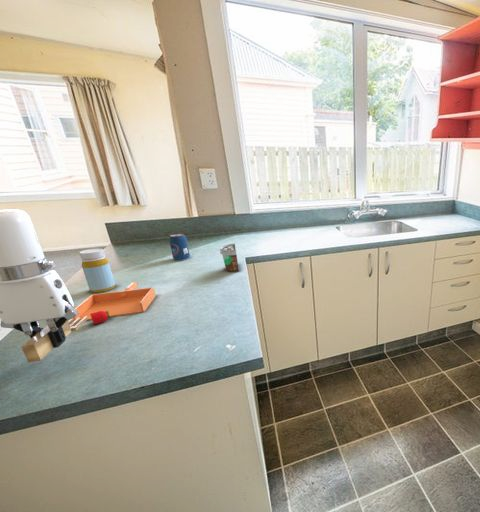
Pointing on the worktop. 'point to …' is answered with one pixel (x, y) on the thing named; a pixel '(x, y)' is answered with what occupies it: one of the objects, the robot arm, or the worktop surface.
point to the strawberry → (99, 316)
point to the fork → (47, 340)
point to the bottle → (97, 270)
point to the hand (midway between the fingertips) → (51, 345)
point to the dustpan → (117, 302)
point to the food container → (230, 257)
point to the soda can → (179, 247)
